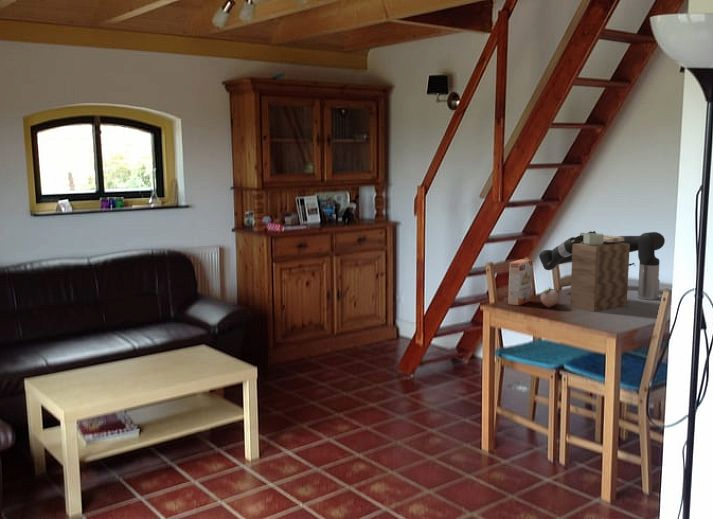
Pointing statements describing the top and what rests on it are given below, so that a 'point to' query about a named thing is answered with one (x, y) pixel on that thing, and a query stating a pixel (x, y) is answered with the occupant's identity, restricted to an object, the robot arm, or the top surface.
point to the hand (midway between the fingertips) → (593, 233)
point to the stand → (599, 276)
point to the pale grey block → (593, 239)
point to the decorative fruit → (549, 297)
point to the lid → (610, 238)
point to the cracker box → (519, 282)
